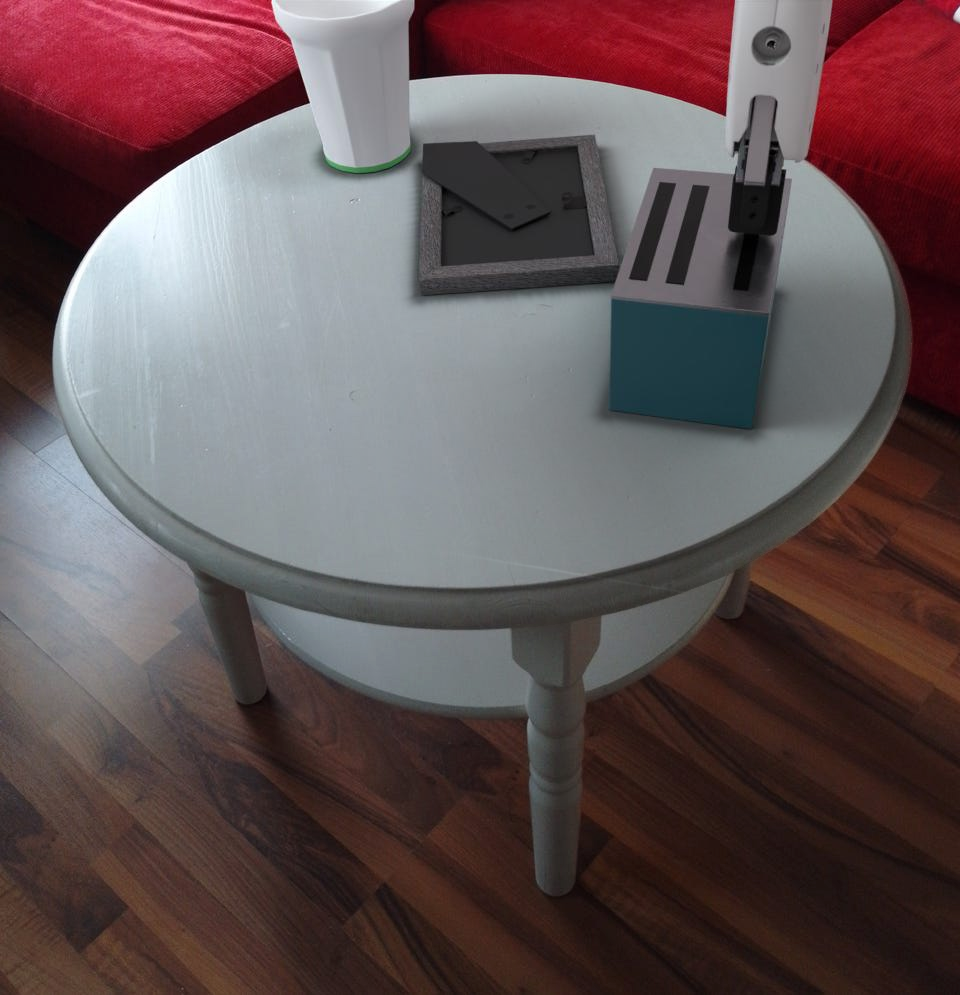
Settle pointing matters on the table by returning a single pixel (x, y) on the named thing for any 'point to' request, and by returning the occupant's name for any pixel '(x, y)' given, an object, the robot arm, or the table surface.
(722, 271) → the toaster
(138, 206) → the table surface
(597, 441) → the table surface
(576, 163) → the picture frame
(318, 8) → the cup
